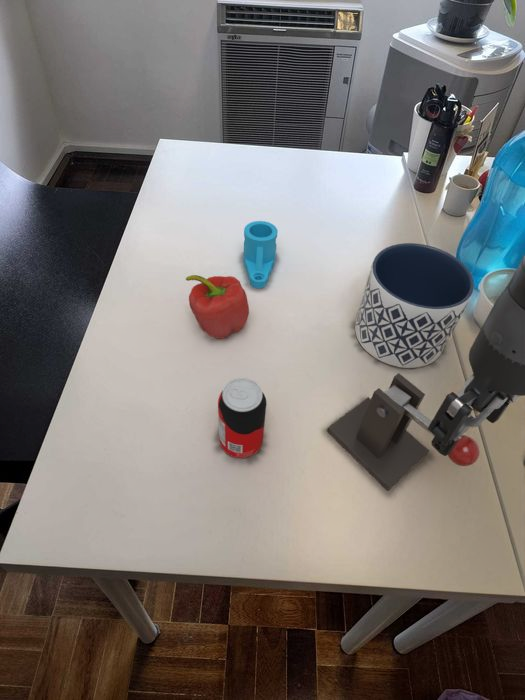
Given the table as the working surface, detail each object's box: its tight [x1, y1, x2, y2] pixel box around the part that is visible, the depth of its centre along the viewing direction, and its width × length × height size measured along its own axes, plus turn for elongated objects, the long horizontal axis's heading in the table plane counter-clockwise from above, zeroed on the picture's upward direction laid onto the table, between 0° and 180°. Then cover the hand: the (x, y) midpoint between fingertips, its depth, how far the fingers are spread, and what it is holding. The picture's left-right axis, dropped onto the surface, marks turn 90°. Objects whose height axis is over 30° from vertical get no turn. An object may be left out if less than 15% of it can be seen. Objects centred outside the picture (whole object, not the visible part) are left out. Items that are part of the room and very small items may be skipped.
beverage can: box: [217, 377, 267, 459], centre depth 64 cm, size 6×6×12 cm
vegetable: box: [185, 274, 250, 339], centre depth 80 cm, size 11×10×10 cm
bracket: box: [242, 220, 278, 289], centre depth 92 cm, size 6×12×7 cm, turn 179°
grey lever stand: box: [326, 372, 430, 492], centre depth 65 cm, size 12×9×13 cm
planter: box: [354, 242, 475, 369], centre depth 79 cm, size 16×16×14 cm
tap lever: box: [384, 385, 480, 467], centre depth 59 cm, size 13×4×4 cm, turn 40°
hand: (464, 432), depth 55 cm, fingers open, 8 cm apart
